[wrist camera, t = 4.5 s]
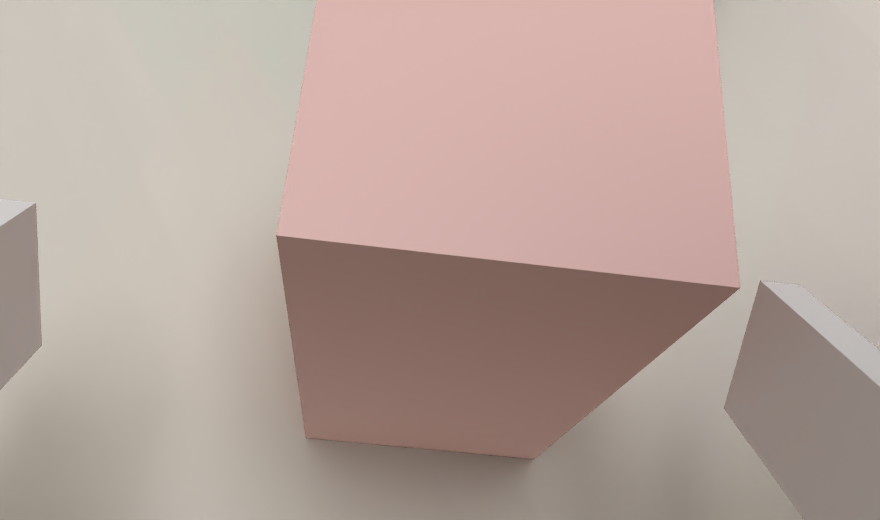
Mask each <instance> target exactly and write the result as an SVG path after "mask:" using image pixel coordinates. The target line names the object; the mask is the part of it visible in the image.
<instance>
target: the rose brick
mask: <svg viewBox="0 0 880 520" xmlns="http://www.w3.org/2000/svg"><path fill="white" fill-rule="evenodd" d="M276 236H277V243H278V250H279V257H280V263H281V270H282V277H283V284H284V291H285V298H286V304H287V311H288V318H289V325H290V332H291V339H292V345H293V352H294V359H295V366H296V373H297V380H298V386H299V393H300V400H301V407H302V414H303V421H304V427H305V434H306V438H313V439H324V440H335V441H345V442H356V443H367V444H377V445H388V446H399V447H409V448H420V449H431V450H441V451H452V452H463V453H473V454H484V455H495V456H505V457H516V458H527V459H535V458H536V457H537V456H539V455H540V454H541V453H542V452H543V451H545V450H546V449H547V448H548V447H549V446H551V445H552V444H553V443H554V442H555V441H557V440H558V439H559V438H560V437H561V436H563V435H564V434H565V433H566V432H567V431H569V430H570V429H571V428H572V427H573V426H575V425H576V424H577V423H578V422H579V421H581V420H582V419H583V418H584V417H585V416H587V415H588V414H589V413H590V412H591V411H593V410H594V409H595V408H596V407H597V406H599V405H600V404H601V403H602V402H603V401H605V400H606V399H607V398H608V397H609V396H611V395H612V394H613V393H614V392H615V391H617V390H618V389H619V388H620V387H622V386H623V385H624V384H625V383H626V382H628V381H629V380H630V379H631V378H632V377H634V376H635V375H636V374H637V373H638V372H640V371H641V370H642V369H643V368H644V367H646V366H647V365H648V364H649V363H650V362H652V361H653V360H654V359H655V358H656V357H658V356H659V355H660V354H661V353H662V352H664V351H665V350H666V349H667V348H668V347H670V346H671V345H672V344H673V343H674V342H676V341H677V340H678V339H679V338H680V337H682V336H683V335H684V334H685V333H686V332H688V331H689V330H690V329H691V328H692V327H694V326H695V325H696V324H697V323H699V322H700V321H701V320H702V319H703V318H705V317H706V316H707V315H708V314H709V313H711V312H712V311H713V310H714V309H715V308H717V307H718V306H719V305H720V304H721V303H723V302H724V301H725V300H726V299H727V298H729V297H730V296H731V295H732V294H733V293H735V292H736V291H737V290H738V289H739V288H740V281H739V270H738V259H737V249H736V238H735V227H734V217H733V206H732V195H731V185H730V174H729V163H728V152H727V142H726V131H725V120H724V110H723V99H722V88H721V78H720V67H719V56H718V46H717V35H716V24H715V13H714V3H713V0H317V1H316V6H315V12H314V18H313V24H312V30H311V36H310V42H309V47H308V53H307V59H306V65H305V71H304V77H303V83H302V88H301V94H300V100H299V106H298V112H297V118H296V124H295V129H294V135H293V141H292V147H291V153H290V159H289V165H288V170H287V176H286V182H285V188H284V194H283V200H282V206H281V212H280V217H279V223H278V229H277V235H276Z"/></svg>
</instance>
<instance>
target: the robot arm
mask: <svg viewBox="0 0 880 520" xmlns="http://www.w3.org/2000/svg"><path fill="white" fill-rule="evenodd" d="M41 346H42V337H41V313H40V289H39V264H38V240H37V216H36V203H35V202H26V201H17V200H7V199H0V390H1V389H2V388H3V387H4V385H5V384H6V383H7V382H8V381H9V380H10V379H11V378H12V377H13V376H14V375H15V374H16V373H17V371H18V370H19V369H20V368H21V367H22V366H23V365H24V364H25V363H26V362H27V361H28V360H29V359H30V357H31V356H32V355H33V354H34V353H35V352H36V351H37V350H38V349H39V348H40V347H41ZM724 409H725V411H726V412H727V413H728V415H729V416H730V418H731V419H732V420H733V422H734V423H735V425H736V426H737V427H738V429H739V430H740V431H741V433H742V434H743V436H744V437H745V438H746V440H747V441H748V443H749V444H750V445H751V447H752V448H753V449H754V451H755V452H756V454H757V455H758V456H759V458H760V459H761V461H762V462H763V463H764V465H765V466H766V467H767V469H768V470H769V472H770V473H771V474H772V476H773V477H774V479H775V480H776V481H777V483H778V484H779V485H780V487H781V488H782V490H783V491H784V492H785V494H786V495H787V497H788V498H789V499H790V501H791V502H792V503H793V505H794V506H795V508H796V509H797V510H798V512H799V513H800V515H801V516H802V517H803V519H804V520H880V350H879V349H878V348H876V347H875V346H874V345H873V344H872V343H870V342H869V341H868V340H867V339H865V338H864V337H863V336H862V335H860V334H859V333H858V332H857V331H856V330H854V329H853V328H852V327H851V326H849V325H848V324H847V323H846V322H844V321H843V320H842V319H841V318H840V317H838V316H837V315H836V314H835V313H833V312H832V311H831V310H830V309H828V308H827V307H826V306H825V305H824V304H822V303H821V302H820V301H819V300H817V299H816V298H815V297H814V296H813V295H811V294H810V293H809V292H808V291H806V290H805V289H804V288H803V287H801V286H800V285H798V284H789V283H780V282H770V281H761V280H760V283H759V286H758V290H757V293H756V297H755V300H754V304H753V307H752V311H751V315H750V318H749V322H748V325H747V329H746V332H745V336H744V339H743V343H742V346H741V350H740V353H739V357H738V360H737V364H736V367H735V371H734V374H733V378H732V381H731V385H730V389H729V392H728V396H727V399H726V403H725V406H724Z"/></svg>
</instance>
